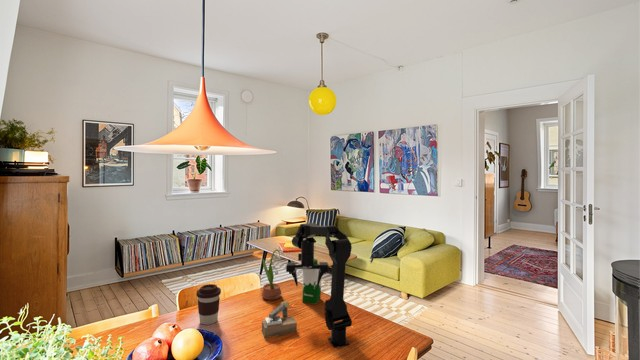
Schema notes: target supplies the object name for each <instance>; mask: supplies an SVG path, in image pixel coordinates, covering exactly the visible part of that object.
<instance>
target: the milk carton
mask: <svg viewBox="0 0 640 360" xmlns="http://www.w3.org/2000/svg"><path fill="white" fill-rule="evenodd" d="M319 264H320V263H318V259H315V258H314V265H319ZM301 270H302V303H304V304H311V305H316V304H317V303H318V302H319V301H320V300H321V298H322V297H321V296H322V295H321V294H322V279H321V280H320V283H319V285H318V286H317V280H318V272H319V269H301Z"/></svg>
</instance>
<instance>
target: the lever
mask: <svg viewBox="0 0 640 360" xmlns="http://www.w3.org/2000/svg"><path fill="white" fill-rule="evenodd" d="M285 308H288V309H289V308H290V302H289V301H285V300H284V301H281V302H280V305H279V306H278V307H276V308H275V309H273V310H272V311H271V312H270V313H268V317H269V318H271V319H273V318H274V317H275V316H279V314H280V313H281V312H282V311H283V310H284V309H285Z"/></svg>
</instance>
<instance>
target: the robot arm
mask: <svg viewBox="0 0 640 360" xmlns="http://www.w3.org/2000/svg"><path fill="white" fill-rule="evenodd" d="M314 236H324V237H325V241H324V243H325V244H324V245H325V246H326V248H327V250H328V255H329V257H330V259H331V261H332V268H331V269H332V271H331V285H330V286H331V287H330V298H329V299H326V300H325V301H324V309H323V310H324V319H325V325H326V328H327V330H329V331H330V333H331V334H330V337H327V341H328V342H329V344H331V346H332V347H333V348H334V349H335V348H336V349H337V348H341V347H345V346H349V345H350V342H349V341H348V340H347V328H348V327H352V324H353V320H352V319H351V316H350V313H349V312H348V306H347V303H346V302H345V300H344V297H345V296H344V295H345V293H344V292H345V280H346V279H345V278H346V267H347V266H346V264H347V263H348V261H349V258H351V253H352V249H353V247H352V243H351V241H350V239H349V238H348V237H347V235H346V234H345V233H343V232H342V231H341V230H340V229H339V228H338V227H337V225H318V224H317V223H314V222H308V223H301V224H299V227H298V228H297V231H296V232H295V235H293V237H292V239H291V245H292V246H293V247H294V248H297V249H300V253H298V256H297V257H298V259H297V260H298V262H299V261H300V264H296V262H295V261H293V262H287V263H286V265H285V266H286V267H285V272H286V273H288V274H289V275H291V276H292V277H293V281H294V282H295V285H296V287H298V285H299V283H298V274H297V270H302V269H319V272H318V280H317V286H318V285H319V283H320V280H321V281H322V278H323V276H324V275H325V274H326V273H328V272H329V271H330V266H329V263H328V262H324V261H323V262H321V261H319V263H318V264H319V265H314V259H315V244H316V243H317V241H316V239H315V238H314ZM331 237H334V238H336V239H334V240H333V239H332V240H331Z"/></svg>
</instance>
